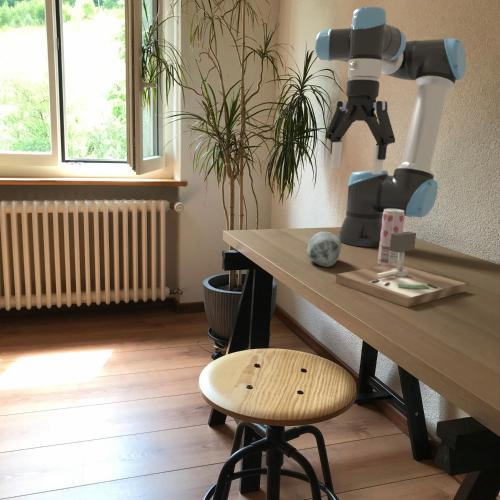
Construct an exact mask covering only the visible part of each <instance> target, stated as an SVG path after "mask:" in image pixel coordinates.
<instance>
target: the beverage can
mask: <svg viewBox="0 0 500 500" xmlns="http://www.w3.org/2000/svg"><path fill="white" fill-rule="evenodd" d="M405 217H406V216H405V214H404V210H400V209H384V212H383V218H382V227H381V236H380V244H379V247H378V253H377V254H378V255H377V264H378V265H379V266H383V265H388V264H393V263H396V264H397V261H398V253H399V252H393V251H390V243H391V234H393V233H400V232H404V224H405Z"/></svg>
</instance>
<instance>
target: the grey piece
mask: <svg viewBox="0 0 500 500" xmlns="http://www.w3.org/2000/svg"><path fill="white" fill-rule="evenodd" d="M416 237H417V233H416V232H413V231H403V232H400V233H393V234H391V243H390V251H393V252H399V253H398V261H397V268H393V269H391V271H387V272H382V273H377V274H376V276H377V277H382V276H387V275H393V276H397V277H407V276H408V271H407V270H405V269H403V266H404V262H405V254H406V252H408V251H414V250H415V246H416Z"/></svg>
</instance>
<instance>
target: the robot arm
mask: <svg viewBox="0 0 500 500" xmlns="http://www.w3.org/2000/svg"><path fill="white" fill-rule="evenodd" d="M314 50H315V54H316V56H317V58H318V59H319V60H321V61H328V62H331V61H340V62H344V63H348V68H347V78H348V79H349V80H347V82H346V89H345V91H346V93H345V95H346V97H347V101H344V100H342V101H341V100H338V101H337V103H336V107H335V111H334V113H333V117H332V119H331V121H330V123H329V126H328V128H327V130H326V133H325V139H327V140H328V141H330V155H331V156H330V158H331V159H330V169H333V170H334V169H341V165H342V164H341V163H342V151H343V142H342V139H343V137H344V136H345V134H346V133H347V132H348V131H349V128H350V127H351V126H352V125H353V123H355V122H356V121H358V122H359V121H362V122H364V123H366V124H367V126H368V128H369V131H370V132H371V134H372V136H373V138H374V141H376V144H375V145H374V147H373V157H372V158H373V159H372V165H371V166H372V167H371V168H372V169H371V170H364V171H363V170H362V171H360V170H359V171H354V172H352V173H351V174H350V176H349V180H348V185H347V188H348V189H347V197H346V198H347V199H346V208H345V209H346V211H345V218H344V220H343V222H342V225H341V227H340V230H339V232H338V235H337V237H338V238H339V239H340V240H341V244H345V245H350V246H355V247H356V246H357V247H365V248H367V247H368V248H377V247H378V248H379V244H380V236H381V227H382V218H383V212H384V209H400V210H404V214H405V216H404V217H407V218H418V219H419V218H423V217H426V216H427V215H428V214H429V213H430V212H431V210H432V209H433V207H434V206H435V205H434V204H435V202H436V199H437V197H438V190H439V184H438V181H437V180H435V179H434V178H435V175H434V173H433V171H432V170H431V167H432V161H433V158H434V153H435V149H436V144H437V141H438V136H439V131H440V127H441V126H440V125H441V123H442V118H443V114H444V113H443V112H444V109H445V105H446V99H447V96H448V93H449V92H450V91H451V90H453V89H454V88H455V84H456V81H460V80H462V79H463V78H464V75H465V73H466V52H465V51H466V50H465V47H464V44H463V42H462V40H460V39H458V38H447V37H446V38H440V39H439V38H437V39H425V40H423V39H422V40H421V39H420V40H407V38H406V35H405V34H404V32H403V31H402V30H400V29H399V28H398V27H396V26H393V25H390V24H387V11H386V10H385V9H384V8H382V7H379V6H378V7H377V6H364V7H358V8H356V9H354V11H353V14H352V19H351V25H350V27H348V28H330V29H326V30H321V31H319V33H318V34H317V35H316V38H315V43H314ZM381 75H384V76H388V77H392V78H396V79H400V80H405V81H414V82H413V83H414V85H415V86H416V88H417V93H416V97H415V101H414V105H413V110H412V116H411V118H410V124H409V127H408V131H407V136H406V140H405V145H404V151H403V154H402V158H401V163H400V164H399V165H398V166H396V167H395V168H394V171H393V175H389V172H388V170H386V169H385V170H384V169H383V167H384V161H385V160H386V158H387V149H388V145H391V144H395V142H396V137H395V134H394V130H393V127H392V124H391V119H390V117H389V113H388V101H386V100H385V101H384V100H377V98H378V97H379V94H380V82H379V79H380V78H381ZM375 112H376V113H375Z"/></svg>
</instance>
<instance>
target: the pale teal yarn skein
mask: <svg viewBox="0 0 500 500" xmlns="http://www.w3.org/2000/svg"><path fill="white" fill-rule="evenodd" d="M341 249H342V242H341V240H340V239H339V238H338V235H336V234H334V233H333V232H330V231H319V232H317V233H315V234H313V236H312V237H311V238H310V240H309V242H308V244H307V248H306V254H307V256H308V257H309V259H310V260H311V261H312V262H313V263H315V264H317V265H318V266H321V267H324V268H327V267H328V268H329V267H332V266H334V264H335V263H336V262H337V261H338V259H339V258H340V254H341Z"/></svg>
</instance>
